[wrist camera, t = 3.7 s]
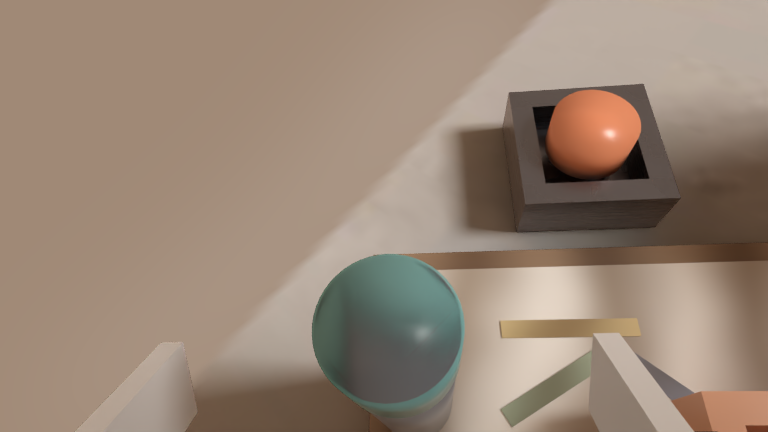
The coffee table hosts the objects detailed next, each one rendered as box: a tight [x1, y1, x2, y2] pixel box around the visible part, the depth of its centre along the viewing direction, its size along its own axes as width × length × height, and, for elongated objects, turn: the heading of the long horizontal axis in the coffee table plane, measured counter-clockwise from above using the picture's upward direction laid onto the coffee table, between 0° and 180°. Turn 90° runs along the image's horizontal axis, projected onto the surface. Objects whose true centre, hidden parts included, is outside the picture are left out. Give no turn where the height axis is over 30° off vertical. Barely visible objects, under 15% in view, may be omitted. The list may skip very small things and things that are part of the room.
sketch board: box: [369, 242, 768, 432], centre depth 20 cm, size 20×16×1 cm
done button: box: [544, 90, 641, 180], centre depth 24 cm, size 4×4×2 cm
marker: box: [312, 254, 465, 432], centre depth 16 cm, size 3×3×12 cm
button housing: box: [503, 84, 681, 232], centre depth 25 cm, size 7×7×3 cm
